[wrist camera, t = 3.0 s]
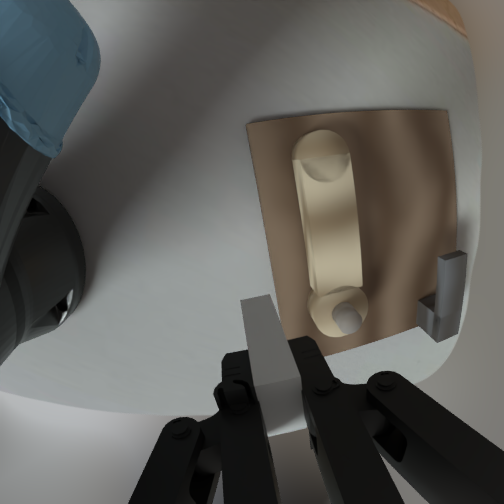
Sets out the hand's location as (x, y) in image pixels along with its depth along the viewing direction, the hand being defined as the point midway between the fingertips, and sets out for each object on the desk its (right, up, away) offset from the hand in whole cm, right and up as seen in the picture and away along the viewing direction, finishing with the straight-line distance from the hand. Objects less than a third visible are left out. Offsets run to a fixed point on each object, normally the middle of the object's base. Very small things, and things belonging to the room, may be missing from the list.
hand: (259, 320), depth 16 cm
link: (+6, +5, +10) cm, 13 cm away
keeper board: (+11, +5, +12) cm, 17 cm away
